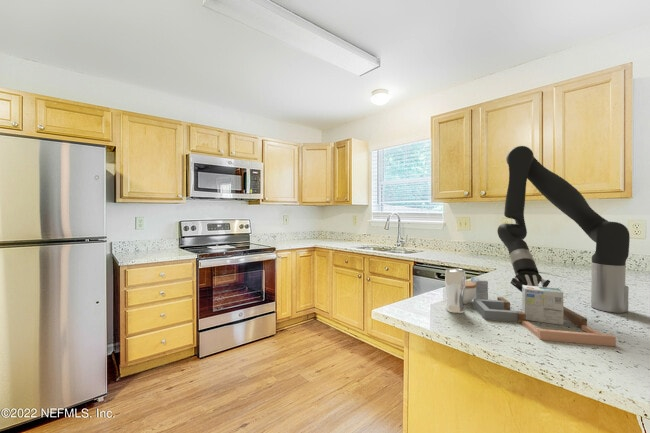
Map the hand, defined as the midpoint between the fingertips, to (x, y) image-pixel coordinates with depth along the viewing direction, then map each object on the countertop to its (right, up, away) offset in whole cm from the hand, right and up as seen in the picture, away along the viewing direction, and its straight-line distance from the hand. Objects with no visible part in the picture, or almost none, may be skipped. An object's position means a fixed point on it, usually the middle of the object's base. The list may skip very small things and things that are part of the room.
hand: (537, 303), depth 102 cm
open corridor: (0, -4, +1) cm, 4 cm away
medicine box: (-10, -4, +20) cm, 22 cm away
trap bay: (-13, -4, +2) cm, 14 cm away
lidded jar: (-19, -4, +16) cm, 26 cm away
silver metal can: (-27, -4, +5) cm, 28 cm away
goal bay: (-3, -4, -15) cm, 16 cm away
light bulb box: (-1, -5, -4) cm, 6 cm away
